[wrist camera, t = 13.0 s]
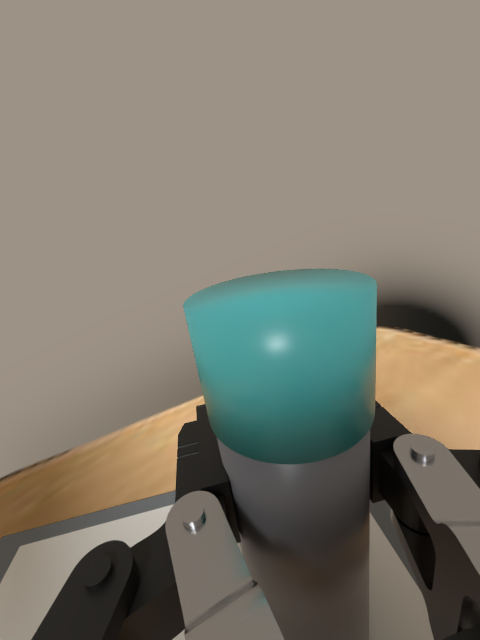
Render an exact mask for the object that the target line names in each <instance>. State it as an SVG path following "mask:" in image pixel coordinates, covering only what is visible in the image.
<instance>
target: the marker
mask: <svg viewBox="0 0 480 640" xmlns="http://www.w3.org/2000/svg"><path fill="white" fill-rule="evenodd" d="M376 300H377V283H376V281H375V280H374V279H373V278H372V277H370V276H368V275H366V274H363V273H359V272H354V271H347V270H339V269H300V270H287V271H277V272H269V273H264V274H257V275H251V276H246V277H242V278H237V279H233V280H229V281H226V282H223V283H219V284H216V285H213V286H210V287H208V288H205V289H203V290H201V291H199V292H197V293H195V294H193V295H192V296H190V297H189V298H188V299H187V300H186V301H185V303H184V305H183V307H184V312H185V316H186V320H187V325H188V329H189V334H190V338H191V342H192V347H193V351H194V356H195V361H196V365H197V369H198V374H199V378H200V383H201V387H202V392H203V396H204V401H205V405H206V409H207V414H208V418H209V423H210V426H211V428H212V430H213V432H214V434H215V435H216V436H217V441H218V445H219V450H220V455H221V459H222V463H223V466H224V468H225V470H226V472H227V476H228V481H229V486H230V490H231V495H232V499H233V504H234V509H235V513H236V518H237V523H238V527H239V532H240V537H241V542H240V546H241V550H242V555H243V558H244V560H245V562H246V565H247V567H248V569H249V572H250V574H251V576H252V578H253V580H254V581H255V582H257V583H258V584H259V586H260V588H261V589H262V591H263V593H264V595H265V598H266V600H267V602H268V604H269V606H270V609H271V611H272V613H273V615H274V618H275V620H276V622H277V624H278V626H279V629H280V631H281V633H282V635H283V638H284V640H368V639H369V551H370V428H371V426H372V424H373V421H374V417H375V384H376V303H377V301H376Z"/></svg>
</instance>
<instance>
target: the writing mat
mask: <svg viewBox="0 0 480 640" xmlns="http://www.w3.org/2000/svg"><path fill="white" fill-rule="evenodd" d="M175 495H176V491H172V492H168V493H165V494H161V495H157V496H153V497H150V498H146V499H142V500H138V501H135V502H131V503H127V504H123V505H120V506H116V507H112V508H108V509H105V510H101V511H97V512H93V513H90V514H86V515H82V516H78V517H75V518H71V519H67V520H63V521H60V522H56V523H52V524H48V525H45V526H41V527H37V528H33V529H30V530H26V531H22V532H18V533H15V534H11V535H7V536H3V537H2V538H1V540H0V640H31V639H32V637H33V636H34V634H35V632H36V631H37V629H38V627H39V626H40V624H41V622H42V621H43V619H44V617H45V616H46V614H47V612H48V611H49V609H50V607H51V606H52V604H53V602H54V601H55V599H56V597H57V596H58V594H59V592H60V591H61V589H62V587H63V586H64V584H65V582H66V581H67V579H68V577H69V576H70V574H71V572H72V571H73V569H74V568H75V566H76V565H77V564H78V562H79V561H80V560H81V559H82V558H83V557H84V556H85V555H86V554H87V553H88V552H89V551H91V550H92V549H93V548H95V547H96V546H98V545H100V544H102V543H105V542H107V541H112V540H119V541H123V542H125V543H126V544H127V545H128V546H129V547H132V546H133V545H135V544H137V543H138V542H140V541H141V540H143V539H145V538H146V537H148V536H149V535H151V534H152V533H154V532H155V531H157V530H158V529H159V528H160V527H161V526H162V525H163V524H164V523H165V521H166V519H167V515H168V513H169V511H170V509H171V508H172V506H173V505H174V504H175ZM237 544H238V546H239V549H240V551H241V553H242V550H241V546H240V543H237ZM242 556H243V555H242ZM184 631H185V630H183V631H182V632H181V633H180V634H178V635H177V636H176V637H175V638H173V639H172V640H185V633H184ZM368 640H434V637H433V634H432V631H431V627H430V622H429V617H428V612H427V607H426V604H425V600H424V597H423V595H422V592H421V590H420V587H419V585H418V583H417V580H416V578H415V576H414V573H413V571H412V568H411V566H410V564H409V561H408V559H407V557H406V554H405V552H404V549H403V547H402V545H401V542H400V540H399V538H398V535H397V533H396V530H395V528H394V526H393V523H392V520H391V507H390V506H389V505H388V503H387V502H386V501H385V500H383V501H380V502H376V503H372V501H371V500H370V551H369V639H368Z"/></svg>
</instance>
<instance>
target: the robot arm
mask: <svg viewBox="0 0 480 640" xmlns="http://www.w3.org/2000/svg"><path fill="white" fill-rule="evenodd" d="M196 411H197V421H193V422H188V423H184V425H183V427H182V429H181V431H180V433H179V434H178V451H177V458H178V459H177V473H176V495H175V504H174V505H173V506H172V508H171V509H170V511H169V513H168V515H167V519H166V521H165V523H164V524H163V525H162V526H161V527H160V528H159V529H158V530H157V531H155V532H154V533H152V534H151V535H149V536H148V537H146V538H145V539H143V540H141V541H140V542H138V543H137V544H135V545H133V546H132V547H129V546H128V545H127V544H126V543H125V542H123V541H119V540H112V541H107V542H105V543H102V544H100V545H98V546H96V547H95V548H93V549H92V550H91V551H89V552H88V553H87V554H86V555H85V556H84V557H83V558H82V559H81V560H80V561H79V562H78V564H77V565H76V566H75V568H74V569H73V571H72V572H71V574H70V576H69V577H68V579H67V581H66V582H65V584H64V586H63V587H62V589H61V591H60V592H59V594H58V596H57V597H56V599H55V601H54V602H53V604H52V606H51V607H50V609H49V611H48V612H47V614H46V616H45V617H44V619H43V621H42V622H41V624H40V626H39V627H38V629H37V631H36V632H35V634H34V636H33V637H32V639H31V640H172V639H173V638H175V637H176V636H177V635H178V634H180V633H181V632H182V631H183V630H185V631H184V633H185V640H284V638H283V635H282V633H281V631H280V629H279V626H278V624H277V622H276V620H275V618H274V615H273V613H272V611H271V609H270V606H269V604H268V602H267V600H266V598H265V595H264V593H263V591H262V589H261V588H260V586H259V584H258V583H257V582H255V581H254V580H253V578H252V576H251V574H250V572H249V569H248V567H247V565H246V562H245V560H244V558H243V556H242V553H241V551H240V549H239V546H238V544H237V543H240V542H241V537H240V532H239V527H238V523H237V518H236V513H235V509H234V504H233V499H232V495H231V490H230V486H229V481H228V476H227V472H226V470H225V468H224V466H223V463H222V459H221V455H220V450H219V445H218V441H217V436H216V435H215V434H214V432H213V430H212V428H211V426H210V423H209V418H208V414H207V409H206V405H205V404H204V405H199V406H196ZM370 500H371V501H372V503H376V502H380V501H383V500H385V501H386V502H387V503H388V505H389V506H390V507H391V520H392V523H393V526H394V528H395V530H396V533H397V535H398V538H399V540H400V542H401V545H402V547H403V549H404V552H405V554H406V557H407V559H408V561H409V564H410V566H411V568H412V571H413V573H414V576H415V578H416V580H417V583H418V585H419V587H420V590H421V592H422V595H423V597H424V600H425V604H426V607H427V612H428V617H429V622H430V627H431V631H432V634H433V637H434V640H480V450H452V449H447V448H446V447H445V446H444V445H443V444H441V443H440V442H438V441H437V440H435V439H433V438H430V437H427V436H424V435H420V434H412V433H411V432H409V431H408V430H407V429H406V428H405V427H404V426H403V425H402V424H401V423H400V422H399V421H397V420H396V419H395V418H394V417H393V416H392V415H391V414H390V413H389V412H388V411H386V410H385V409H384V408H383V407H381V405H380V404H379V403H378V402H377V401H375V417H374V421H373V424H372V426H371V428H370Z"/></svg>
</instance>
